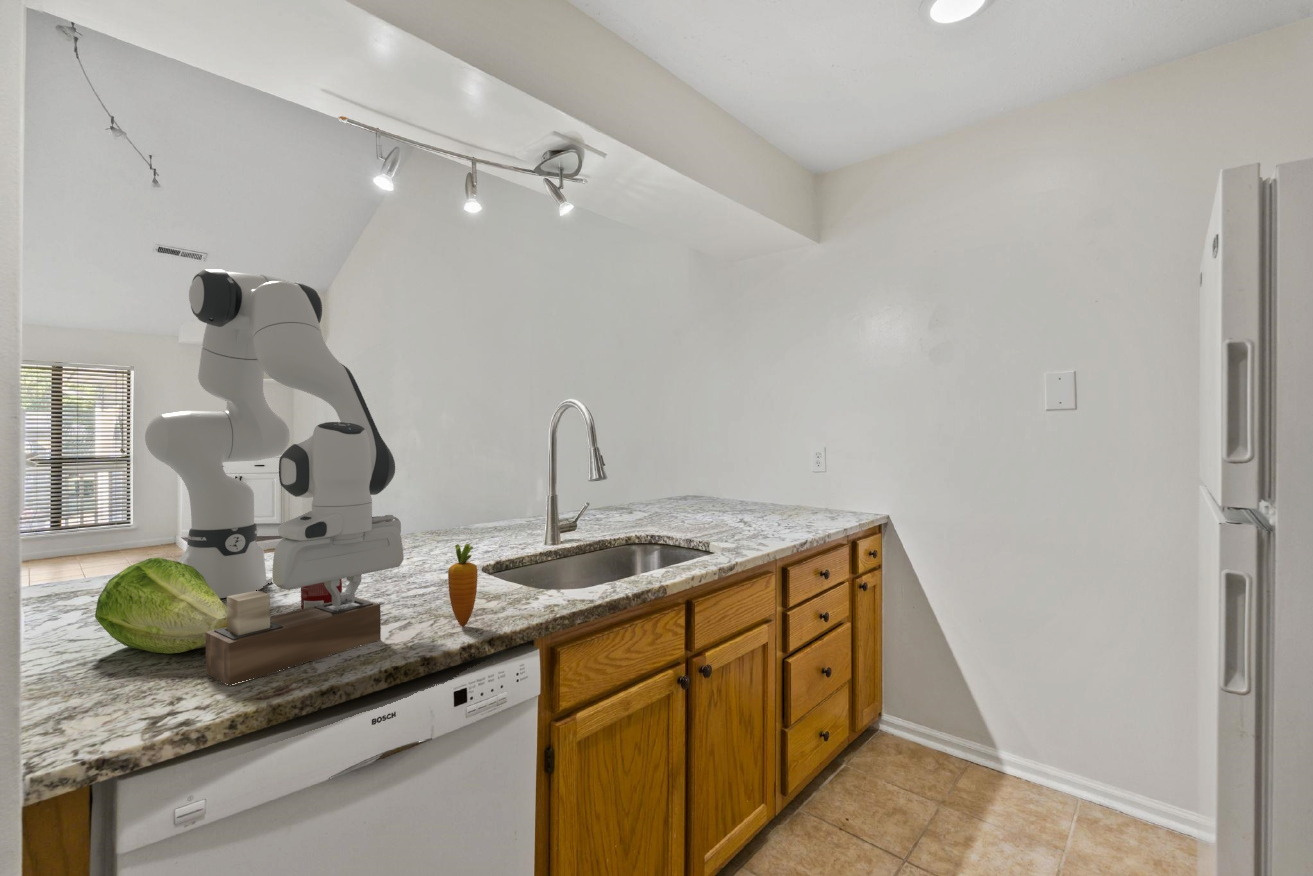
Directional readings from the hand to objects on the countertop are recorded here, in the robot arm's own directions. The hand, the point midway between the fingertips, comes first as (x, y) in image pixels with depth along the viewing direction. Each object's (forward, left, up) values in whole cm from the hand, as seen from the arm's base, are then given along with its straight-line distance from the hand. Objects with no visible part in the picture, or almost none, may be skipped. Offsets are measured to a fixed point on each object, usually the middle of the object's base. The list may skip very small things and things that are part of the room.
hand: (343, 604), depth 100 cm
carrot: (+10, +16, -7) cm, 20 cm away
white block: (0, 0, -6) cm, 6 cm away
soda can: (-17, +5, -7) cm, 19 cm away
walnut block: (0, -7, -6) cm, 9 cm away
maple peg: (0, -14, -1) cm, 14 cm away
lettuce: (-18, -16, -7) cm, 25 cm away
